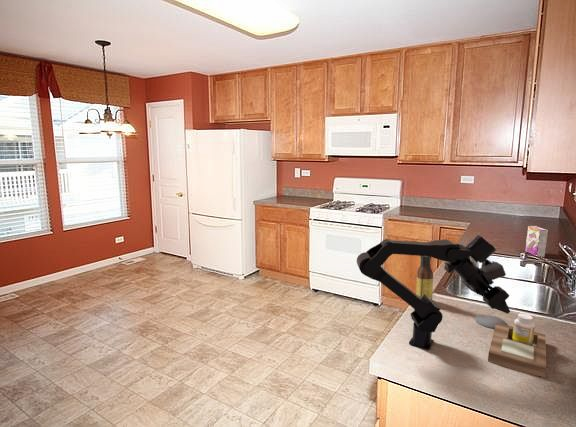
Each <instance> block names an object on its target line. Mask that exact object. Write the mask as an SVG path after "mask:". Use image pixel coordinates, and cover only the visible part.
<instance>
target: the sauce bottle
mask: <svg viewBox="0 0 576 427" xmlns="http://www.w3.org/2000/svg"><path fill="white" fill-rule="evenodd" d="M419 257H420V265H419V266H418V268H417V271H416V273H417V276H416V292H415V294H416V295H418V296H420V297H423V295H424V294H425V295H426V296H427V297H428V298H429V299H431V300H433V295H434V294H433V292H434V290H433V289H434V288H433V287H434V273H433V270H432V268H431V260H432V257H429V256H419Z"/></svg>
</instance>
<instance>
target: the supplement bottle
mask: <svg viewBox="0 0 576 427" xmlns="http://www.w3.org/2000/svg"><path fill="white" fill-rule="evenodd" d="M533 320H534V319H533V316H531V315H530V314H526V313H518V314H517V318H516V319H514V322H513V327H514V328H513V336H512V337H511V340H514V341H518V342H522V343H526V344H530V345H533V344H534V343H533V337H534V332H535V329H536V328H535V327H536V324H535V323H534V322H533Z"/></svg>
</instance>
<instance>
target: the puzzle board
mask: <svg viewBox="0 0 576 427" xmlns="http://www.w3.org/2000/svg"><path fill="white" fill-rule="evenodd" d="M513 328H514V326H511V325H508V324H507V325H504V324H499V323H496V325H495V329H493V333H492V338H491V341H490V345H489V350H488V355H487V362H489V363H492V364H497V365H499V366H503V367H506V368H509V369H513V370H517V371H519V372H522V371H523V373H527V374H529V373H530V374H529V375H532V374H533V376H536V375H537V377H539V376H541V377H540V378H543V377H544V378H543V379H545V378H546V374H547V373H546V372H547V353H546V351H547V349H546V346H547V345H546V334H544V333H540V332H536V331H534V337H533V344H536V345H533V344H532V345H530V344H526V343H522V342H518V341H514V340H512V336H513ZM510 338H511V339H510Z"/></svg>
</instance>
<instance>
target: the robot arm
mask: <svg viewBox="0 0 576 427" xmlns="http://www.w3.org/2000/svg"><path fill="white" fill-rule="evenodd" d="M496 252H497V249H496V248H495V246H494V245H493V244H491V243H490V242H488V241H487V240H486V239H484V237H483V236H481V235H480V234H478V235H477V236H475V237H474V239H472V240H471V241H470V242H469V243H468V244H467V245H463V244H459V243H454V242H453V241H451V240H449V239H435V240H432V241H426V242H425V241H424V242H423V241H410V240H398V239H397V240H395V239H388V238H386V239H383V240H382V241H381V242H379V243H377V244H376V245H374V246H372V247H371V248H369V249H368V250H367V251H365V252H361V253H360V254H358V256H357V257H356V264H357V267H358V269H359V271H360V273H361V274H362V275H363V276H365V277H367V278H369V279H371V280H374V281H377V282H379V283H381V284H382V285H383V286H384V287H386V288H387V289H388V290H390V292H392V293H393V294H395V295H396V296H397V297H398V298H400V299H401V300H402V301H404V302H405V303H406V304H408V305H409V306H410V307H411V308H413V311H412V312H411V313H410V318H411V320H412V321H413V328H412V337H411V338H410V340H409V341H408V344H409V345H411V346H414V347H418V348H421V349H424V350H427V351H430V350H431V348H432V346H433V345H434V343H435V340H434V339H432V334H433V333H435V332H436V330H437V328H438V326H439V325H440V324H441V322H442V321H443V318H444V316H443V313H442V312H441V310H442V309H441V308H440V306H439V305H438V304H437V303H436V302H435V300H433V299H432V300H431V299H429V298H428V297H427V296H426V295H425V294H424V295H423V297H420V296H418V295H416V292H414V291H412V289H410V288H408V287H407V286H406V285H405V284H403V283H402V282H401V281H400V280H398V279H397V278H396V277H395V276H394V275H392V274H391V273H389V271H387V270H386V269H385V268H384V267H383V265H384V264H385V262H386V261H387V260H388V259H389V257H390V256H392V255H401V256H402V255H403V256H417V257H418V256H419V257H420V256H429V257H431V258H432V259H435V260H439V261H443V262H444V268H443V269H444V270H445V271H446V272H447V273H448V274H451V273H452V272H453V271H454V272H455V273H456V274H457V275H458V276H459V278H460V279H461V282H462V283H463V285H464V286H465V287H467V289H469V290H470V291H471V292H473V293H475V294H476V295H479V296H481V297H482V300H483V302H484V303H485V304H486V305H487V306H489V308H490V309H492V310H496V311H499V312H502V313H505V314H509V313H511V309H510V308H509V306H508V303H507V301H506V300H507V299H508V298H509V297H510V294H509V293H508V292H507V291H506V290H505V289H504V288H502V287H501V286H499V285H498V286H497V285H496V286H495V285H494V286H491V285H493V284H494V283H495V281H494V280H497V279H499V278H503V277H505V276H506V275H507V274H506V271H505V268H504V266H503V264H500V263H499V262H498V261H490V259H488V258H489V257H491V256H492V255H493V254H495V253H496ZM474 262H475V263H474ZM477 263H480V264H481V267H478V266H477V265H476V264H477Z"/></svg>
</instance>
